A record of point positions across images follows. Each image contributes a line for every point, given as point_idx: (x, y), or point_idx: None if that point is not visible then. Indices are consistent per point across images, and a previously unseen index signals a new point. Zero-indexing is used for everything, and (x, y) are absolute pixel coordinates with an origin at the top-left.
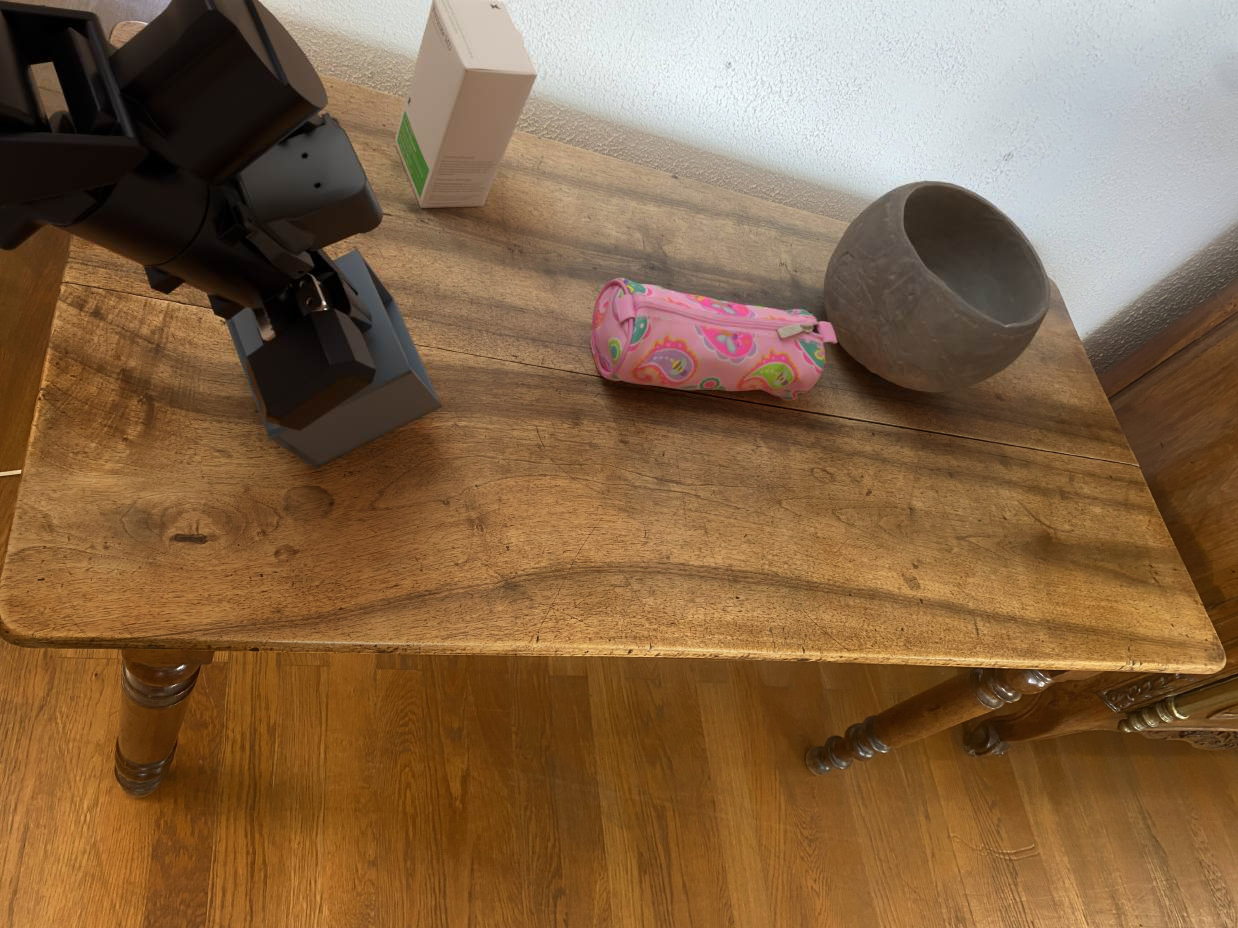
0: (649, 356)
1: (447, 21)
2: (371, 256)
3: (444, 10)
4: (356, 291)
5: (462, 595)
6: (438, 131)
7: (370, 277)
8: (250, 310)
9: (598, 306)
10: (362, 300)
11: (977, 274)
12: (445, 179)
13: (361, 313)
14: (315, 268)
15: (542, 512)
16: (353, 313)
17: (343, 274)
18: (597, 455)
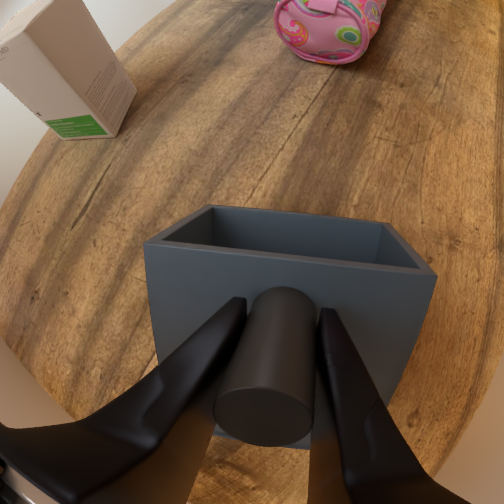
0: (367, 18)
1: None
2: (137, 198)
3: None
4: (242, 302)
5: (497, 288)
6: (63, 89)
7: (208, 248)
8: None
9: (287, 30)
10: (249, 285)
11: None
12: (103, 104)
13: (324, 336)
14: (192, 419)
15: (455, 181)
16: (364, 390)
17: (207, 327)
18: (412, 108)
